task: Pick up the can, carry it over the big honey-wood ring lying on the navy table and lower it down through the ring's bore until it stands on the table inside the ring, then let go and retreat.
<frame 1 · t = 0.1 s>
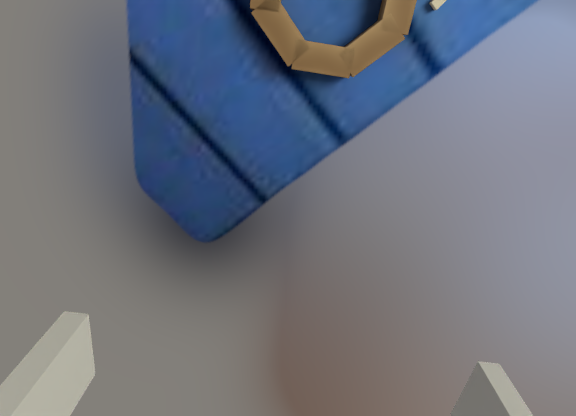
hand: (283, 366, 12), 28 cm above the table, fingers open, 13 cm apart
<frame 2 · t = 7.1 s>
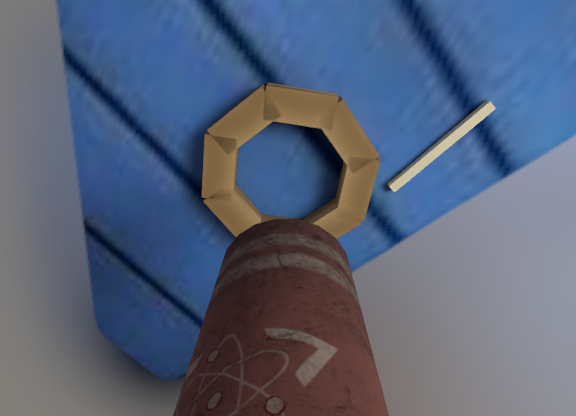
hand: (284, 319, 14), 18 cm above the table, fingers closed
wooden ring: (288, 171, 31), on the table
can: (284, 268, 17), point 15 cm above the table, touching hand
straight beige square stick: (436, 147, 29), on the table
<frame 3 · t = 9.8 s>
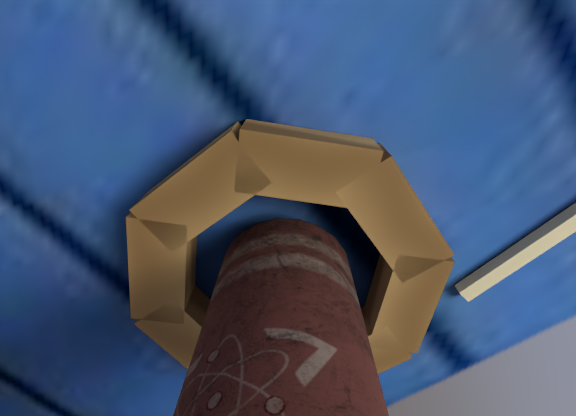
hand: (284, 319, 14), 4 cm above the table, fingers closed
wooden ring: (285, 266, 18), on the table
can: (284, 268, 17), resting in wooden ring, touching hand
straight beige square stick: (548, 229, 17), on the table
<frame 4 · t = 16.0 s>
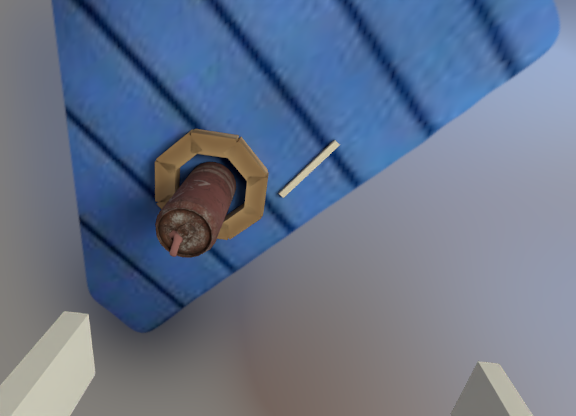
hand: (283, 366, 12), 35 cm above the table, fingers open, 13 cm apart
wooden ring: (213, 184, 46), on the table
can: (213, 183, 47), resting in wooden ring
straight beige square stick: (308, 168, 45), on the table
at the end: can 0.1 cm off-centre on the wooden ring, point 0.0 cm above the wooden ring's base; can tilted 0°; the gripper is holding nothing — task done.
